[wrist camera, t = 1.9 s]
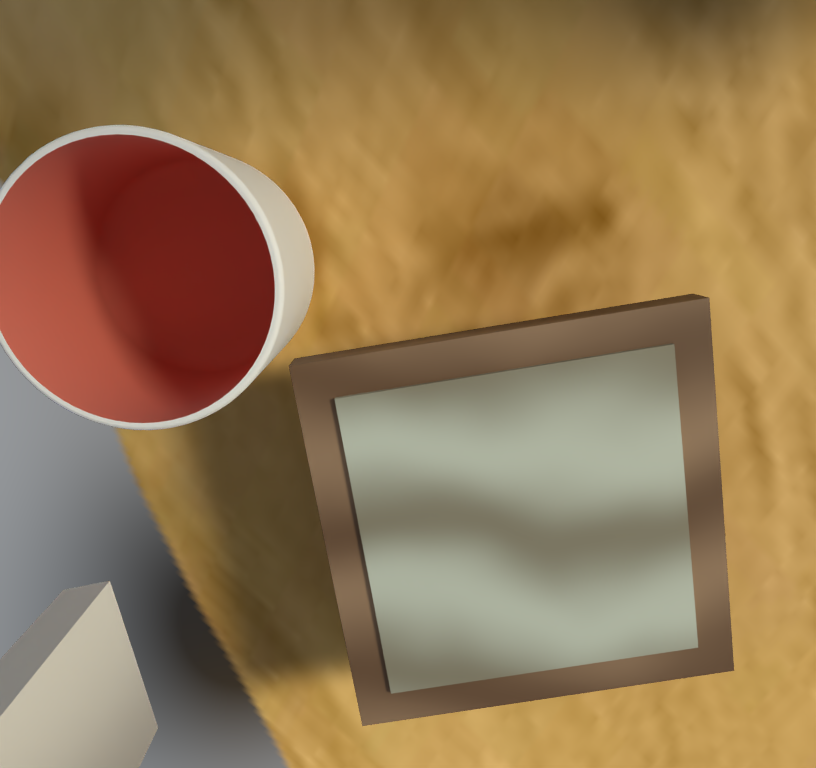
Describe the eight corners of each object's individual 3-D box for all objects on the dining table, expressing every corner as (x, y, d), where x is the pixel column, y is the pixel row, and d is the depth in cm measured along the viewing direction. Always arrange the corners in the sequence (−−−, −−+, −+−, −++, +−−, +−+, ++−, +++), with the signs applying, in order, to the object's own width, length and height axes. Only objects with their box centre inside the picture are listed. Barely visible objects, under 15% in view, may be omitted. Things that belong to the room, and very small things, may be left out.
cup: (200, 105, 31) (110, 52, 22) (362, 265, 33) (346, 284, 23) (57, 267, 33) (-87, 286, 23) (220, 413, 34) (149, 488, 25)
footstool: (311, 336, 34) (287, 367, 27) (645, 282, 33) (711, 298, 26) (369, 633, 37) (362, 729, 30) (672, 587, 37) (736, 673, 30)
